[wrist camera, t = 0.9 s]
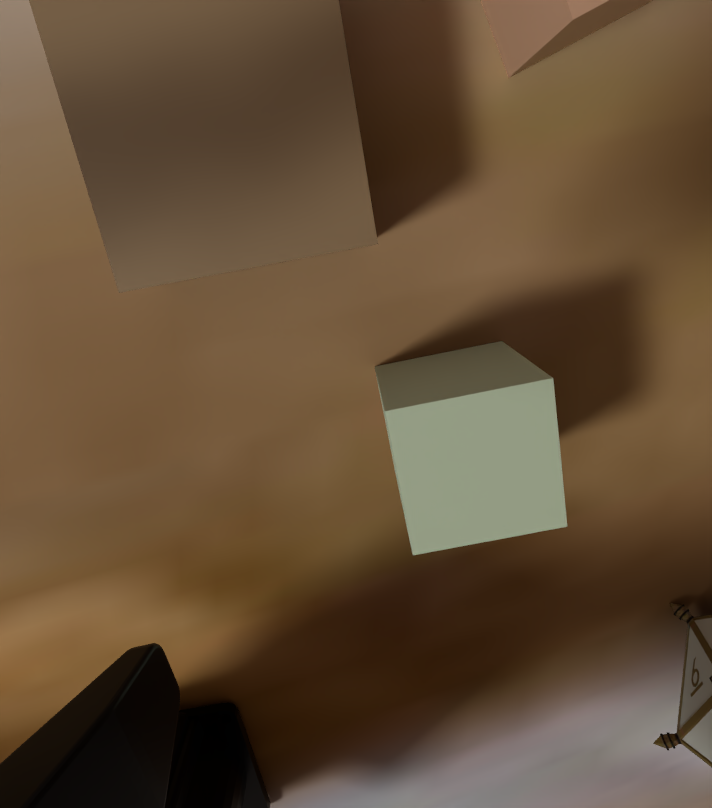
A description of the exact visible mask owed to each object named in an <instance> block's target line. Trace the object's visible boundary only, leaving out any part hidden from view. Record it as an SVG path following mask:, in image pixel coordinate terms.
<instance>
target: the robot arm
mask: <svg viewBox="0 0 712 808" xmlns="http://www.w3.org/2000/svg"><path fill="white" fill-rule="evenodd" d="M179 706H180V691H179V686H178V683H177V681H176V679H175V676H174V674H173V672H172V669H171V667H170V664H169V662H168V660H167V657H166V655H165V653H164V651H163V649H162V647H161V646H160V645H158V644H156V643H152V644H148V645H143V646H138V647H134V648H131V649H129V650H128V651H126V652H125V653H124V654H123V655H122V656H121V657H120V658H119V659H117V660H116V661H115V662H114V663H113V664H112V665H111V666H110V667H108V668H107V669H106V670H105V671H104V672H103V673H102V674H101V675H99V676H98V677H97V678H96V679H95V680H94V681H93V682H92V683H90V684H89V685H88V686H87V687H86V688H85V689H84V690H83V691H81V692H80V693H79V694H78V695H77V696H76V697H75V698H74V699H72V700H71V701H70V702H69V703H68V704H67V705H66V706H65V707H64V708H62V709H61V710H60V711H59V712H58V713H57V714H56V715H55V716H53V717H52V718H51V719H50V720H49V721H48V722H47V723H46V724H44V725H43V726H42V727H41V728H40V729H39V730H38V731H37V732H35V733H34V734H33V735H32V736H31V737H30V738H29V739H28V740H26V741H25V742H24V743H23V744H22V745H21V746H20V747H19V748H17V749H16V750H15V751H14V752H13V753H12V754H11V755H10V756H8V757H7V758H6V759H5V760H4V761H3V762H2V763H1V764H0V808H270V801H269V798H268V795H267V792H266V789H265V786H264V783H263V780H262V777H261V774H260V772H259V769H258V766H257V763H256V760H255V757H254V754H253V751H252V748H251V745H250V742H249V739H248V736H247V734H246V731H245V728H244V725H243V722H242V719H241V716H240V713H239V710H238V708H237V707H236V706H235V705H234V704H232V703H219V704H214V705H208V706H202V707H197V708H191V709H186V710H180V711H179ZM224 715H228V716H224Z"/></svg>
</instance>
